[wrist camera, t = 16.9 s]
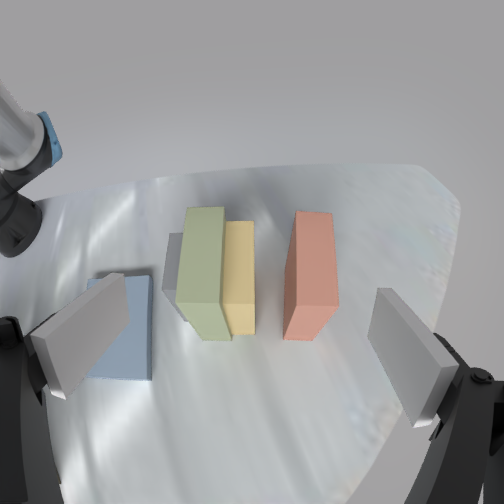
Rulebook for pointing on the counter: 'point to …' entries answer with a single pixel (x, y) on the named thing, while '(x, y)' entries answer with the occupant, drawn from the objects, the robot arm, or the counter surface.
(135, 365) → the flat book
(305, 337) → the terracotta book
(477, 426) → the robot arm
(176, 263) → the stone bookend
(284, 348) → the counter surface
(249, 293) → the row books
